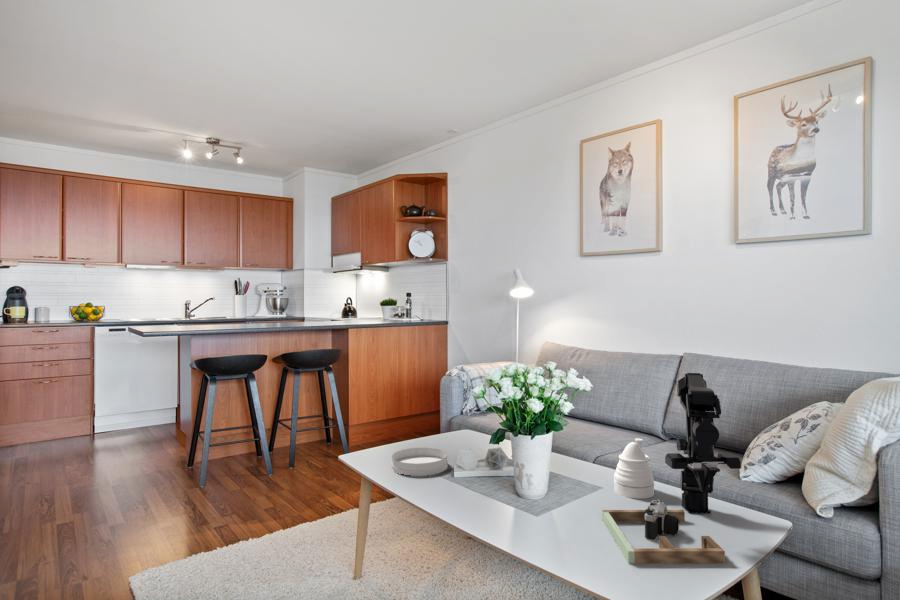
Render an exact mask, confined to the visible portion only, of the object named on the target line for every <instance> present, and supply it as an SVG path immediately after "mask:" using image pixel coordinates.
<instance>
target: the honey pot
mask: <svg viewBox="0 0 900 600" xmlns="http://www.w3.org/2000/svg"><path fill="white" fill-rule="evenodd" d="M643 442H644V439H642V438H638V437H637V438H634V441H631V442H629V443H628V444H627V445H626V446H625V447H624V449H623V451H622V453H619V455H618V459H619V461H618V463H617V464H616V468H615V472H614V473H613V491H614V493H616V494H617V495H619V496H621V497H625V498H629V499H640V500H641V499H642V500H643V499H648V498H651V497H653V496H655V482H654V481H655V478H654V476H653V475H654V474H653V473H652V471H651V466H650V465H649V462H650V460H651V458H650V457H649V455H647V454H645V453H644V451H643V449H642V447H641V445H642V444H643Z"/></svg>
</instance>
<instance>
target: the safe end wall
mask: <svg viewBox="0 0 900 600" xmlns="http://www.w3.org/2000/svg"><path fill="white" fill-rule="evenodd" d="M603 510H604V509H602V510H601V514H602V515H601V521H602V522H603V524H604V525H605V527H606V529H607V531H608V532H609V534H610V535H611V537H612V538H613V541H614V542H615V544H616V546H617V547H618V549H619V550H620V553H622V556H623V557H624V558H625V560H626V562H627V564H636V563H635V553H634V550H633V549H634V548H633V547H632V546H631V544H630V542H629V541H628V539H627V538H626V536H625V535H624V533H623V532H622V530H621V529H620V528H619V526H618V524H617V522H615V521H614V520H613V518H612V517H611V515H610V514H609V512H604V511H603ZM602 516H603V517H602Z"/></svg>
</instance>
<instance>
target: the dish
mask: <svg viewBox="0 0 900 600" xmlns="http://www.w3.org/2000/svg"><path fill="white" fill-rule="evenodd" d="M448 467H449V465H448V454H447V452H446V451H445V450H442V449H439V448H433V447H413V448H406V449H401V450H398V451H396V452H394V453H393V454H391V470H392V469H393V470H394V471H395V472H397V473H400V474H404V475H403V476H405V475H411V476H410V477H427V475H429V476H434V475H438V474H440V473H442V472H445V471H446V470H447V469H448ZM393 470H392V471H393ZM395 472H394V473H395ZM397 473H396V474H397ZM400 474H399V475H400Z"/></svg>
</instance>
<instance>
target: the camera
mask: <svg viewBox="0 0 900 600" xmlns="http://www.w3.org/2000/svg"><path fill="white" fill-rule="evenodd" d="M644 510H645V522H644V538H645V539H646V541H651V542H654V541H656V540H657V539H658V538H659V536H665V535H667V536H669V535H671V536H673V537H675V536H678V534H679V529H680V522H679V520H678V518H676V516H670V515H668V514H667V512H668V511H667V510H668V506H667V505H666V504H665V503H664V502H663V501H662V499H659V498H658V499H652V500H651V501H650V503H649V506H648V507H647V508H646V509H644Z"/></svg>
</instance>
